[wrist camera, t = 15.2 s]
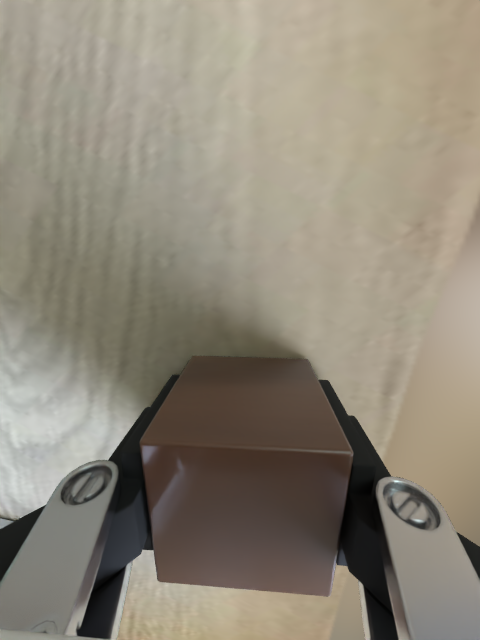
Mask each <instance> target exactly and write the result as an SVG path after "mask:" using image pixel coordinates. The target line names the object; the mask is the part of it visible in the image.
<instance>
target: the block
mask: <svg viewBox="0 0 480 640" xmlns="http://www.w3.org/2000/svg"><path fill="white" fill-rule="evenodd" d="M140 452H141V459H142V467H143V474H144V482H145V489H146V497H147V504H148V512H149V519H150V527H151V534H152V542H153V549H154V557H155V564H156V572H157V579H158V581H160V582H168V583H179V584H190V585H202V586H213V587H225V588H236V589H247V590H259V591H270V592H281V593H293V594H304V595H315V596H327V597H328V596H330V595H331V591H332V585H333V579H334V573H335V566H336V560H337V554H338V548H339V542H340V535H341V529H342V523H343V517H344V510H345V504H346V498H347V492H348V486H349V479H350V473H351V467H352V461H353V451H352V448H351V446H350V444H349V442H348V440H347V438H346V436H345V434H344V432H343V430H342V428H341V426H340V424H339V422H338V420H337V418H336V416H335V414H334V411H333V409H332V407H331V405H330V403H329V401H328V399H327V397H326V395H325V393H324V391H323V389H322V387H321V385H320V383H319V381H318V379H317V377H316V375H315V372H314V370H313V368H312V366H311V364H310V362H309V360H308V359H288V358H254V357H221V356H192V357H191V359H190V360H189V362H188V363H187V365H186V367H185V368H184V370H183V371H182V373H181V375H180V376H179V378H178V380H177V381H176V383H175V384H174V386H173V388H172V389H171V391H170V393H169V394H168V396H167V397H166V399H165V401H164V402H163V404H162V406H161V407H160V409H159V410H158V412H157V414H156V415H155V417H154V418H153V420H152V422H151V423H150V425H149V427H148V428H147V430H146V431H145V433H144V435H143V436H142V438H141V440H140Z"/></svg>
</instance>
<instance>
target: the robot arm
mask: <svg viewBox="0 0 480 640" xmlns="http://www.w3.org/2000/svg"><path fill="white" fill-rule="evenodd" d="M179 376H180V375H172V376H171V377H170V379H169V380H168V382H167V383H166V385H165V386H164V388H163V389H162V391H161V392H160V394H159V395H158V396H157V398H156V399H155V401H154V402H153V404H152V405H151V407H147V408H145V409H144V411H143V412H142V413H141V415H140V416H139V418H138V419H137V420H136V422H135V423H134V425H133V426H132V427H131V429H130V430H129V432H128V433H127V434H126V436H125V437H124V439H123V440H122V441H121V443H120V444H119V446H118V447H117V449H116V450H115V451H114V453H113V454H112V456H111V457H110V458H109V460H97V461H92V462H89V463H86V464H84V465H82V466H80V467H78V468H76V469H75V470H73V471H72V472H70V473H69V474H68V475H67V476H66V477H65V478H64V479H62V481H61V482H60V483H59V485H58V486H57V487H56V489H55V491H54V492H53V494H52V496H51V497H50V499H49V501H48V502H47V504H46V505H45V506H43V507H41V508H39V509H37V510H35V511H33V512H31V513H29V514H28V515H26V516H24V517H22V518H20V519H18V520H16V521H14V522H12V523H10V524H9V525H7V526H5V527H3V528H1V529H0V640H117V637H118V632H119V627H120V622H121V617H122V613H123V608H124V603H125V598H126V593H127V588H128V583H129V578H130V573H131V568H132V561H133V560H134V559H135V558H136V557H137V556H139V555H140V554H141V552H142V549H143V550H154V549H153V542H152V534H151V527H150V519H149V512H148V504H147V497H146V489H145V482H144V474H143V467H142V459H141V452H140V440H141V438H142V436H143V435H144V433H145V431H146V430H147V428H148V427H149V425H150V423H151V422H152V420H153V418H154V417H155V415H156V414H157V412H158V410H159V409H160V407H161V406H162V404H163V402H164V401H165V399H166V397H167V396H168V394H169V393H170V391H171V389H172V388H173V386H174V384H175V383H176V381H177V380H178V378H179ZM318 381H319V383H320V385H321V387H322V389H323V391H324V393H325V395H326V397H327V399H328V401H329V403H330V405H331V407H332V409H333V411H334V414H335V416H336V418H337V420H338V422H339V424H340V426H341V428H342V430H343V432H344V434H345V436H346V438H347V440H348V442H349V444H350V446H351V448H352V451H353V461H352V467H351V473H350V479H349V486H348V492H347V498H346V504H345V510H344V517H343V523H342V529H341V535H340V542H339V548H338V554H337V560H336V563H337V565H343V566H348V570H349V572H351V573H352V574H353V575H354V576H355V577H356V578H357V579H358V584H359V594H360V602H361V610H362V619H363V626H364V635H365V640H480V547H479V546H477V545H476V544H474V543H473V542H471V541H469V540H468V539H467V538H465V537H464V536H462V535H460V534H459V533H457V532H456V531H455V529H454V527H453V525H452V523H451V521H450V519H449V516H448V514H447V513H446V511H445V510H444V508H443V507H442V505H441V503H439V501H438V500H437V499H436V498H435V497H434V496H433V495H432V494H430V493H429V492H428V491H427V490H425V489H424V488H423V487H421V486H419V485H417V484H416V483H414V482H412V481H409V480H406V479H404V478H400V477H392V476H391V475H390V474H389V472H388V470H387V469H386V467H385V465H384V464H383V462H382V460H381V459H380V457H379V455H378V454H377V452H376V450H375V449H374V447H373V445H372V444H371V442H370V440H369V439H368V437H367V435H366V434H365V432H364V430H363V429H362V427H361V425H360V424H359V422H358V420H357V419H356V418H355V417H354V416H349V415H348V414H347V413H346V411H345V409H344V407H343V405H342V404H341V402H340V400H339V398H338V397H337V395H336V393H335V391H334V389H333V388H332V386H331V384H330V382H329V381H328V380H318Z"/></svg>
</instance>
